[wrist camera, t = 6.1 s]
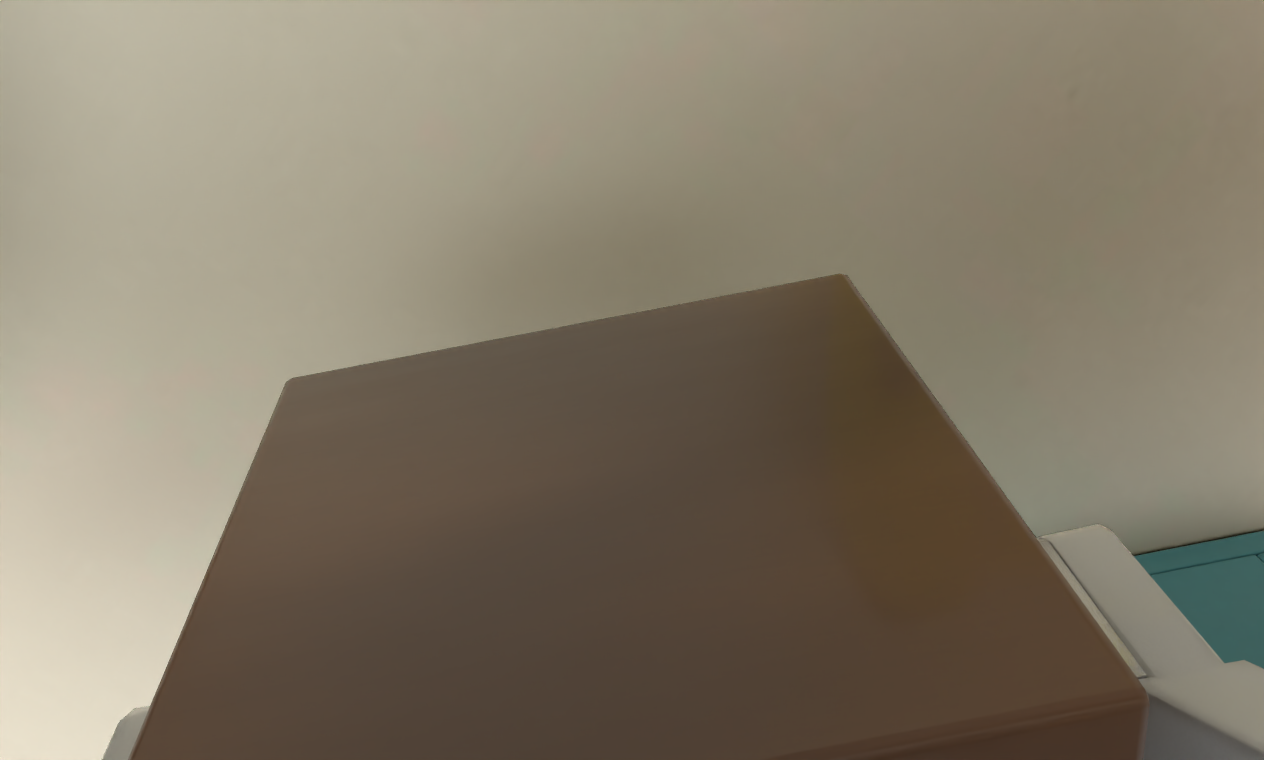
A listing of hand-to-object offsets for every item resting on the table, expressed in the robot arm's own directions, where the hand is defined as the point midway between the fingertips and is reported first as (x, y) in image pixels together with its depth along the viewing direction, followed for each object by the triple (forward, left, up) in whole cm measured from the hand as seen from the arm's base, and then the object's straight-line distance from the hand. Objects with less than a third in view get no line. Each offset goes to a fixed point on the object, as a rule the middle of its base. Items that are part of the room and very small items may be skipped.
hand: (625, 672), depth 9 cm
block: (0, 0, -2) cm, 2 cm away
